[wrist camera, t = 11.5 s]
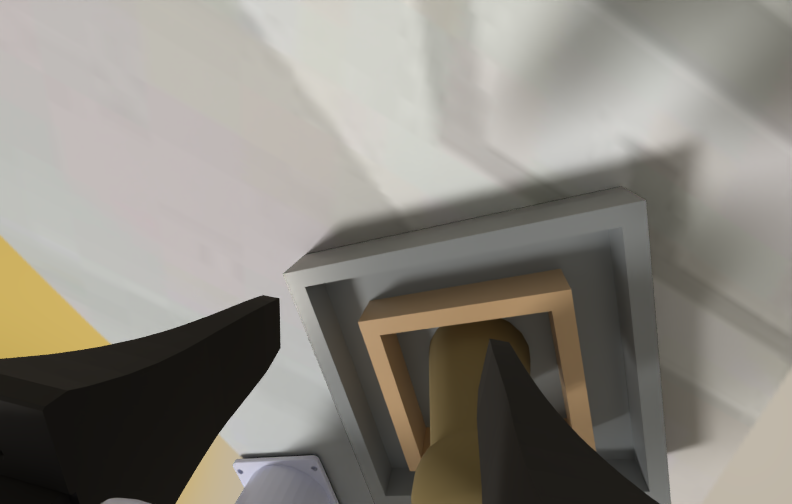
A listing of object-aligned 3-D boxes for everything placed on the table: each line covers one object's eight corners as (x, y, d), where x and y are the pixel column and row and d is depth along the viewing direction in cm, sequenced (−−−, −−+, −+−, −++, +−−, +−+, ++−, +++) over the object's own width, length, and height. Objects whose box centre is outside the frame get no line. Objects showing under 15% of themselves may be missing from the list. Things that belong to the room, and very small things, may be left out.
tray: (649, 459, 24) (673, 509, 21) (385, 469, 29) (374, 510, 26) (621, 186, 19) (649, 201, 16) (305, 254, 24) (280, 276, 21)
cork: (430, 392, 25) (398, 588, 15) (426, 310, 23) (386, 473, 13) (527, 400, 24) (565, 619, 14) (533, 314, 22) (582, 498, 12)
